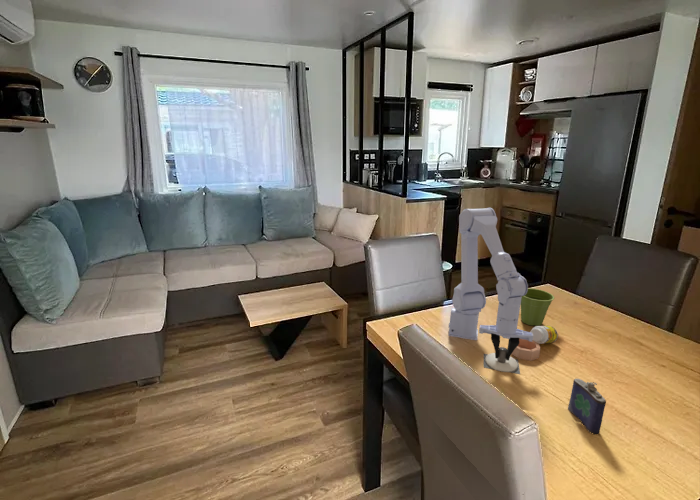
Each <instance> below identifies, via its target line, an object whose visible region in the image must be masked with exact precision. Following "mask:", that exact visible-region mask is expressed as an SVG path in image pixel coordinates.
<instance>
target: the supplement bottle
mask: <svg viewBox="0 0 700 500" xmlns="http://www.w3.org/2000/svg"><path fill="white" fill-rule="evenodd" d="M529 332H531V333H533V341H535V342H537V343H539V345H541V344H551V343H554V342H556V341H557V340H558V336H559V334H558V331H557V329H556V328H555V327H554V326H551V325H540V326H534V327H532V329H531V330H530V331H529Z"/></svg>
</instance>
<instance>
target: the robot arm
mask: <svg viewBox="0 0 700 500" xmlns="http://www.w3.org/2000/svg"><path fill="white" fill-rule="evenodd" d="M497 223H498V217H497V214H496V212H495V209H494V208H492V207H486V208H464V209H463V210H462V211H461V213H460V214H459V216H458V224H459V225H458V227H459V228H458V229H459V231H458V233H459V234H460V235H461V236H460V241H461V243H460V246H461V247H460V248H461V249H460V251H461V253H460V254H461V255H460V258H461V267H460V268H461V282H460V283H458V285H457V286H455V287H454V289H453V296H452V299H451V300H452V307H451V308H450V309H451V310H450V315H449V316H450V318H449V323H448V336H449V337H453V338H459V339H460V338H461V339H464V340H465V339H467V340H470V341H471V340H472V341H478V337H479V335H478V334H482V335H483V334H488V335H490V339H491V342H492V345H493V349H494V353H495V358H497V359H498V351H499V347H500V345H501V338H503V339H507V340H508V343H507V348H506V349H507V357H506V360H508V361H509V358H510V357H512V352H513V351H514V349H515V348H516V347H517V346H518V345H519V339H525V340H528V341H531V342H532V340H533V333H531V332H530V331H526V330H523V329H519V328H518V323H519V317H520V312H521V298H522V297H520V296H524V295H526V293H527V291H528V288H529V284H528V282H527V279H526V278H525V277H524V276H522V275H521V273H519V272H518V271H517V268H516V266H515V264H514V262H513V259H512V257H511V255H510V254H509V253H507V252H506V251H505V250H504V248H503V245H502V241H501V239H500V236H499V233H498V229H497ZM480 235H481V237H482V239H483V240H484V243H485V245H486V247H487V248H488V250H489V252H490V254H491V257H490V260H489V261H490V262H489V263H490V265H491V268H492V270H493V273H494V274H495V276H496V281H497V283H496V284H495V286H496V287H495V288H496V292H497V301H498V307H497V315H496V323H495V324H494V325H493V324H479V323H478V322H479V318H480V317H479V315H480V313H481V312H482V310H483V309H484V308H485V307H486V304H487V298H486V295H485V288H484V287H483V286H482V285H481V284H479V272H478V270H479V269H478V268H479V266H478V265H479V253H478V251H479V249H478V248H479V247H478V246H479V244H478V243H479V241H478V239H479V238H478V237H479V236H480ZM478 325H479V329H478Z"/></svg>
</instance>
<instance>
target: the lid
mask: <svg viewBox="0 0 700 500" xmlns="http://www.w3.org/2000/svg"><path fill="white" fill-rule="evenodd" d="M487 354H488V355H487V356H486V359H485V361H486V364H487V365H488V366H489V367H491V368H493V369H492V370H494V369H495V371H498V372H502V373H510V372H512V371H515V370H516V369H517V366H518V363H519V362H518V363H517V361H516V360H515V359H516V358H514V357H512V356H510V358H509V361H508V360H506V357H507V348H506V347H504V346H501V347H500V346H499V351H498V359H497V358H495V352H491V353H487Z"/></svg>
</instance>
